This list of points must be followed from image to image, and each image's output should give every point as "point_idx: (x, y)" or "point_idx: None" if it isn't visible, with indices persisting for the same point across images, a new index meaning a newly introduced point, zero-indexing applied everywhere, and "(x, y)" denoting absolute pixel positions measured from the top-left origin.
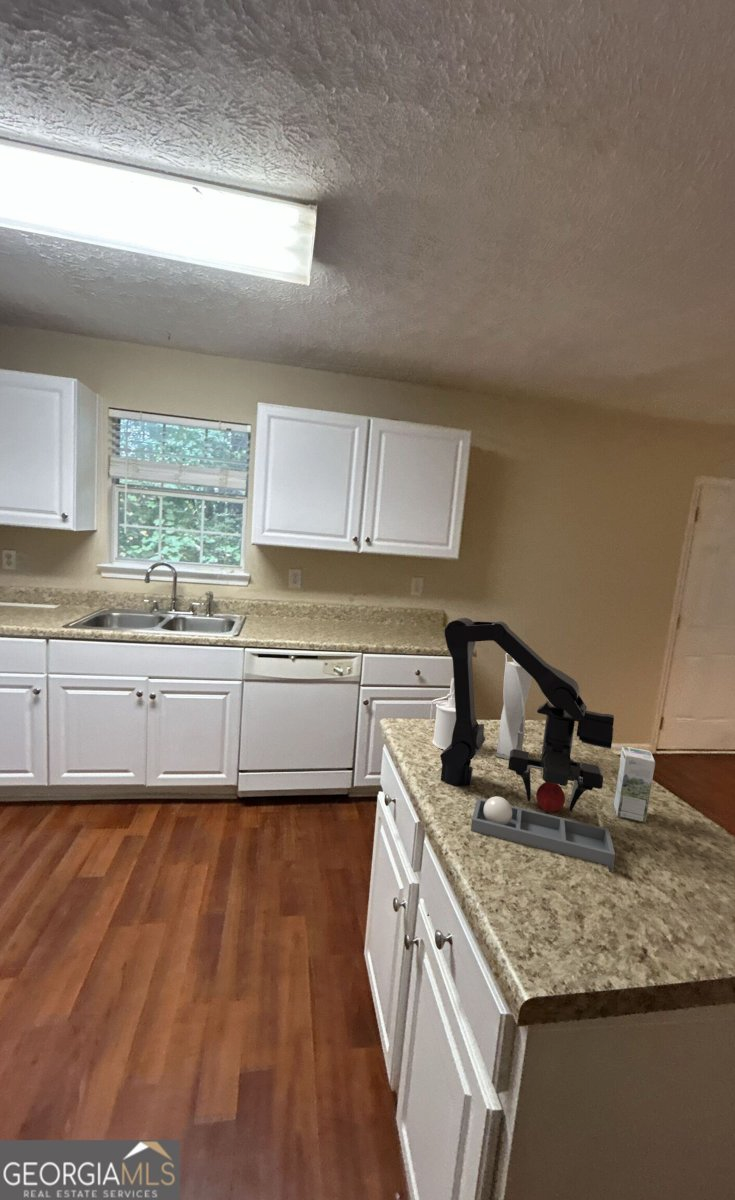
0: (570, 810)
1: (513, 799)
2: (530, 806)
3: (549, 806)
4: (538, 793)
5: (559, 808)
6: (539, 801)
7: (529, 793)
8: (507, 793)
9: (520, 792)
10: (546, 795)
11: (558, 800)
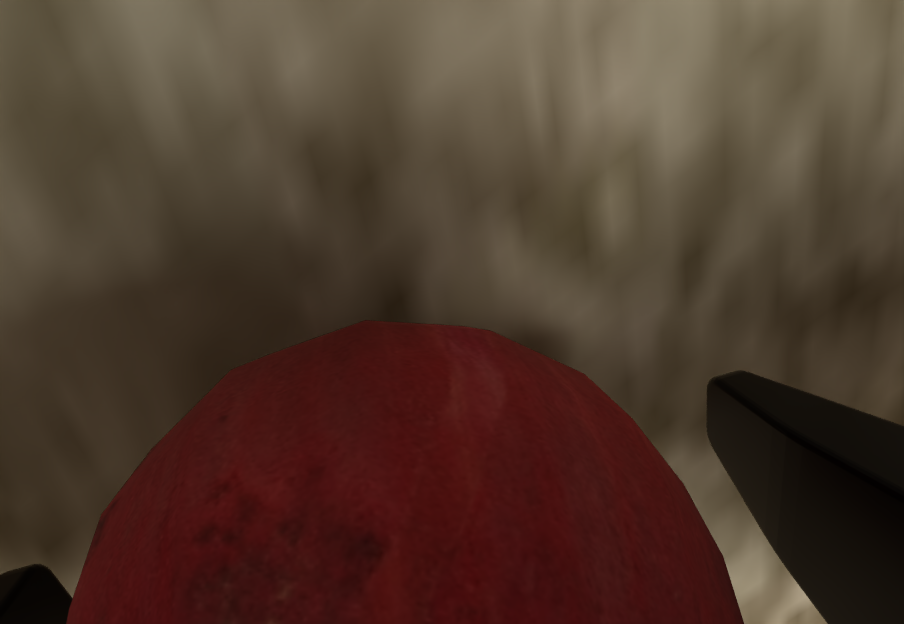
0: (14, 570)
1: None
2: (626, 403)
3: (343, 339)
4: (707, 539)
5: (153, 453)
6: (589, 382)
7: (865, 451)
8: None
9: (748, 586)
10: (509, 535)
11: (123, 585)
